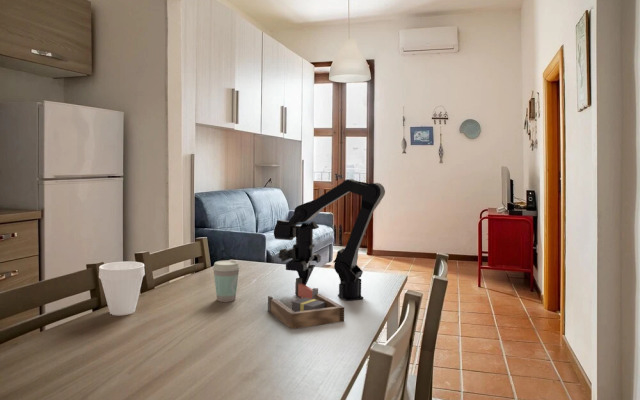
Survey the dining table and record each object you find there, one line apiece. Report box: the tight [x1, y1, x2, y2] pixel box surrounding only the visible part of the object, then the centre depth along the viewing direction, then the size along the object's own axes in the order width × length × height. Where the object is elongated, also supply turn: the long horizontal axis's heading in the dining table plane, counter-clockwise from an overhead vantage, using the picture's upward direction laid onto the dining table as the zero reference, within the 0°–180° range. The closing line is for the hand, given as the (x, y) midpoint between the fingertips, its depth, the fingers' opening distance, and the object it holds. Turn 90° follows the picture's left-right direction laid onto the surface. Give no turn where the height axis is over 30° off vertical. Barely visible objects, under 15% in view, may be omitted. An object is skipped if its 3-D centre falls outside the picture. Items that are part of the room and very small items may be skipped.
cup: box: [98, 260, 146, 316], centre depth 139 cm, size 12×12×14 cm
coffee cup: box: [212, 259, 241, 303], centre depth 154 cm, size 9×8×12 cm
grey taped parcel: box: [291, 297, 326, 312], centre depth 141 cm, size 6×8×4 cm
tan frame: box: [267, 293, 345, 330], centre depth 138 cm, size 16×18×4 cm
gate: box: [294, 277, 319, 299], centre depth 155 cm, size 15×2×6 cm, turn 27°
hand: (303, 286), depth 164 cm, fingers closed
